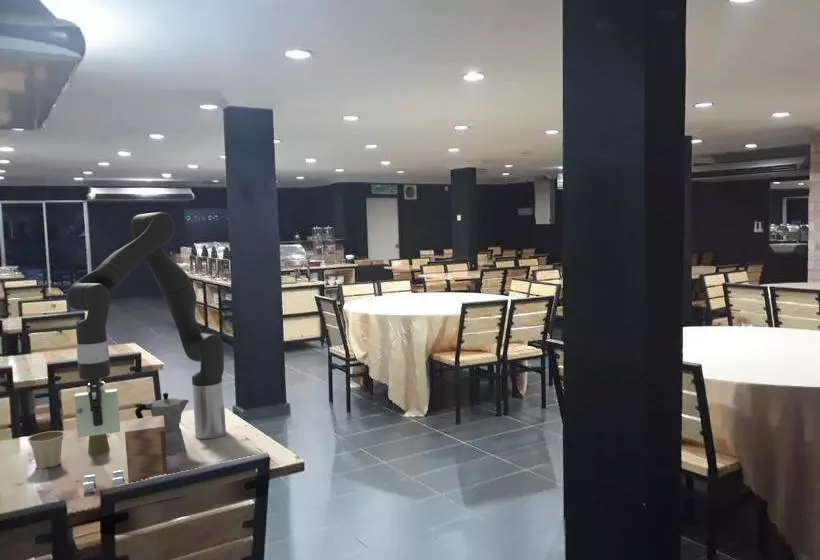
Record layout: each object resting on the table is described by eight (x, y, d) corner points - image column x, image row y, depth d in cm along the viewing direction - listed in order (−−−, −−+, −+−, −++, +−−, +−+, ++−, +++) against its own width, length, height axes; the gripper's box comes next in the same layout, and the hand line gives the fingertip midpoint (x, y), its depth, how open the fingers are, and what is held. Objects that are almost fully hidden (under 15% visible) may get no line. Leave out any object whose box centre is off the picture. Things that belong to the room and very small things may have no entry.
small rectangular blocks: (123, 478, 182) (123, 470, 181) (123, 486, 176) (122, 477, 176) (85, 484, 178) (84, 476, 178) (83, 493, 173) (83, 484, 172)
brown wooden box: (166, 462, 193) (163, 415, 191) (168, 475, 182) (164, 426, 181) (129, 468, 189) (125, 420, 187) (128, 482, 179) (124, 431, 177)
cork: (101, 454, 201) (98, 419, 199) (83, 454, 202) (80, 418, 201) (114, 447, 206) (111, 413, 205) (96, 447, 208) (94, 412, 207)
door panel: (120, 428, 179) (117, 388, 178) (119, 432, 175) (116, 392, 174) (78, 434, 175) (75, 393, 174) (77, 438, 172) (73, 397, 171)
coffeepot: (189, 442, 209) (186, 386, 208) (194, 451, 201) (190, 393, 199) (137, 451, 203) (132, 393, 201) (139, 461, 194) (134, 401, 192)
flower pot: (39, 459, 198) (37, 431, 197) (72, 457, 199) (69, 429, 198) (23, 471, 189) (21, 442, 188) (58, 469, 190) (55, 440, 189)
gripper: (107, 362, 169) (112, 429, 170) (110, 352, 182) (115, 414, 183) (74, 366, 166) (80, 433, 168) (80, 355, 179) (85, 418, 181)
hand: (98, 423), depth 175 cm, fingers closed on door panel, 3 cm apart
